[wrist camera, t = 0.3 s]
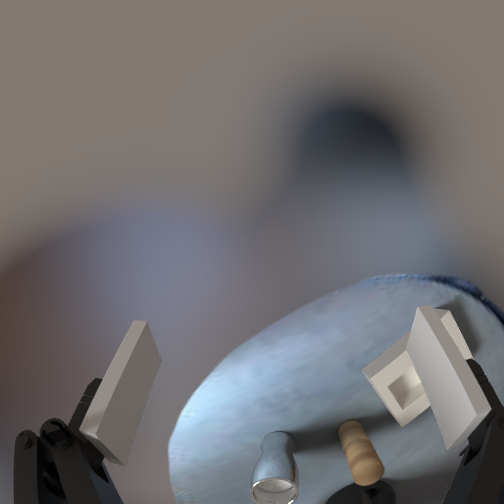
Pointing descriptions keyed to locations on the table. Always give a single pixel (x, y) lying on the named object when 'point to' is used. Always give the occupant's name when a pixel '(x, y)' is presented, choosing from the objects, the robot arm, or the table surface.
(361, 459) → the oak peg
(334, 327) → the table surface
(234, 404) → the table surface
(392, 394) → the square-hole block
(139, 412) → the robot arm
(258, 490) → the beer glass
